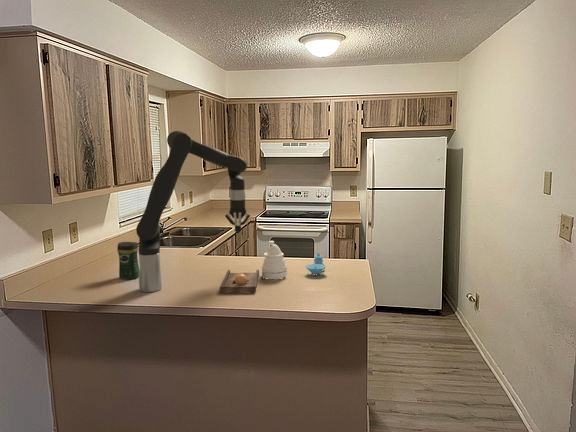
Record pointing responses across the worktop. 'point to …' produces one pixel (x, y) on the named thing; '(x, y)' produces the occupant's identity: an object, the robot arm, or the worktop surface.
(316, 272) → the light blue flared piece
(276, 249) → the honey pot
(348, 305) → the worktop surface
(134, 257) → the coffee jar
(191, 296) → the worktop surface
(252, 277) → the track
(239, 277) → the ball
